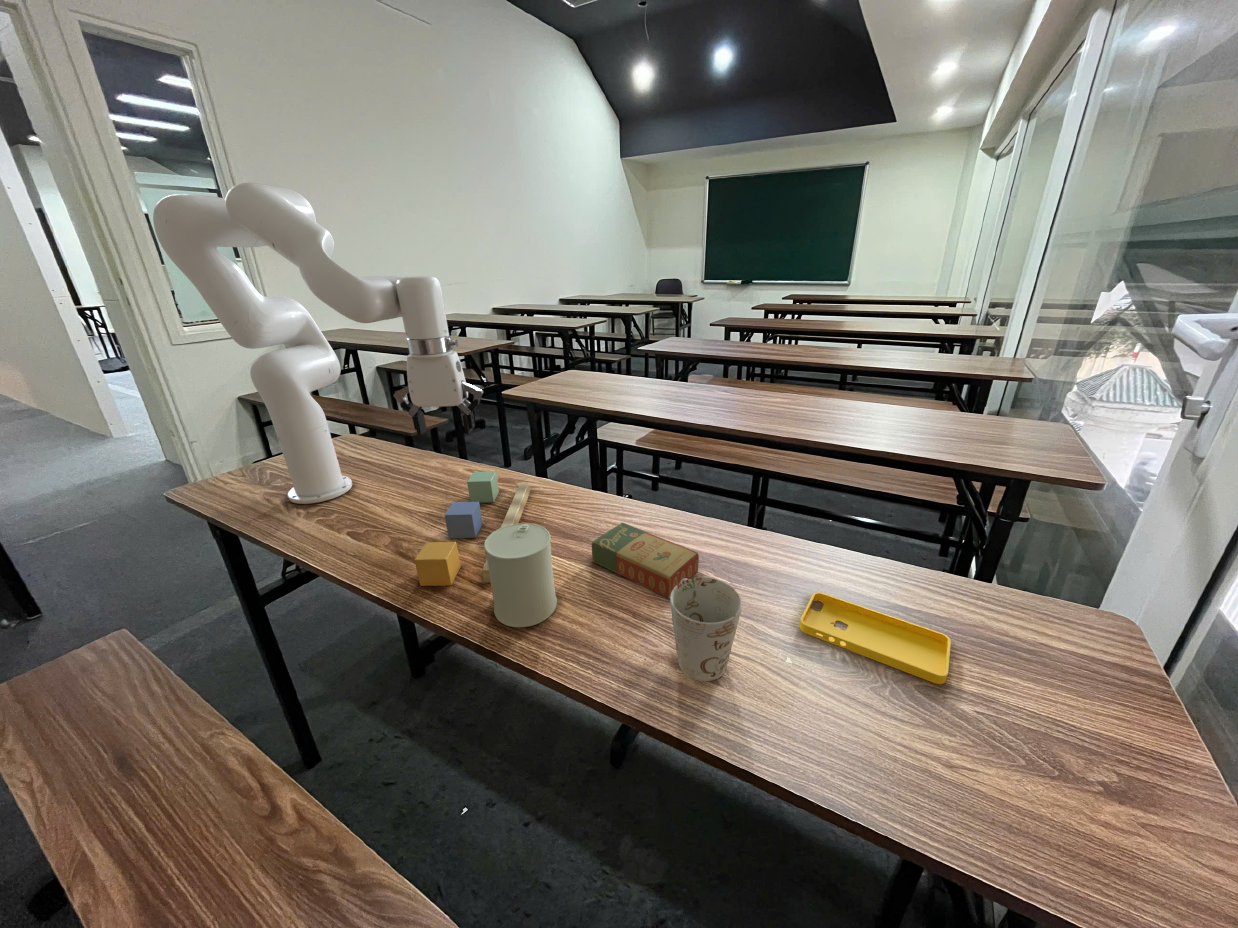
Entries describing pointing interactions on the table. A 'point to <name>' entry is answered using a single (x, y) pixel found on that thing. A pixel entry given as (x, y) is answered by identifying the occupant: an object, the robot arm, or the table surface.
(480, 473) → the block far
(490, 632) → the table surface
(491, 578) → the can
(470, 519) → the block mid
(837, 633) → the phone case
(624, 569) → the carton
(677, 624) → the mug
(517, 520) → the wooden bar
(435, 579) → the block near
